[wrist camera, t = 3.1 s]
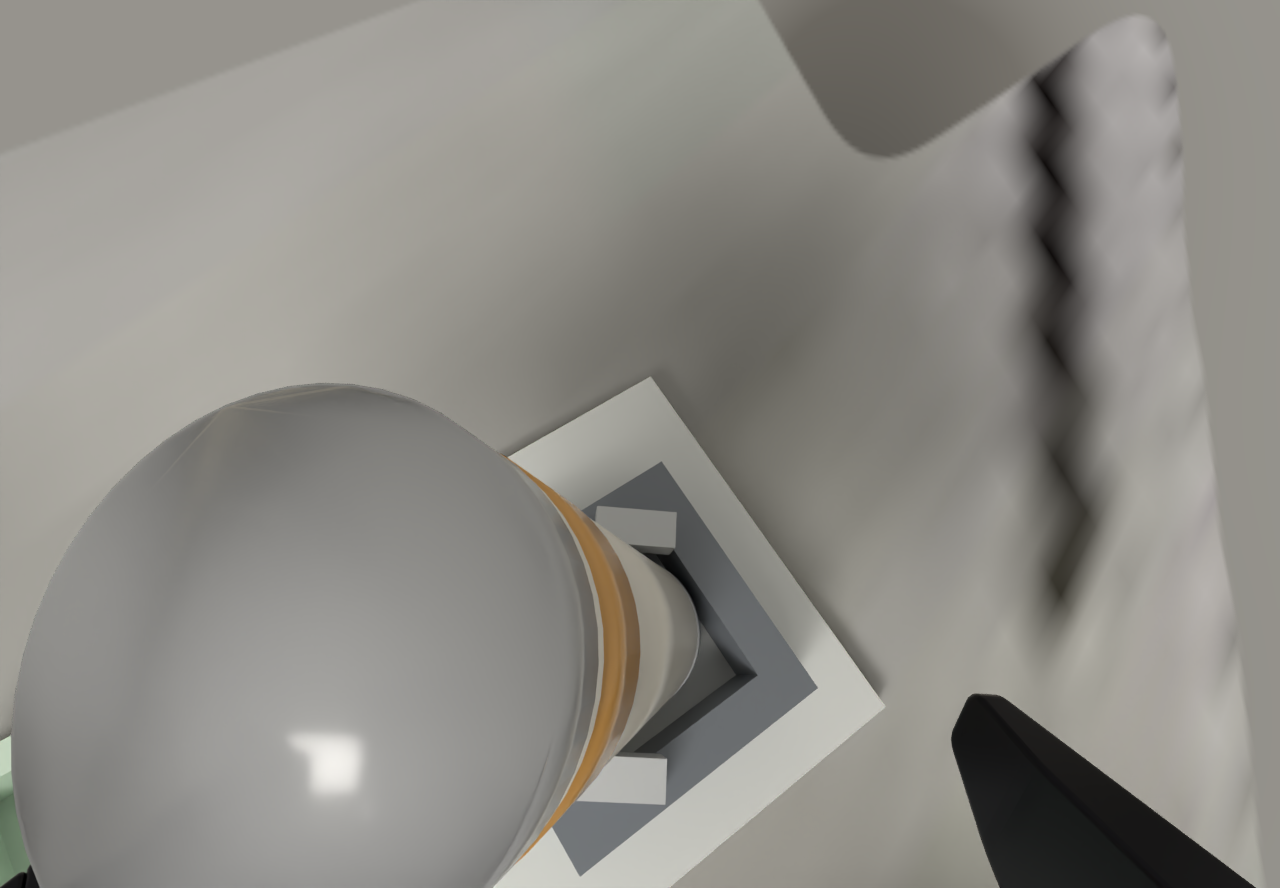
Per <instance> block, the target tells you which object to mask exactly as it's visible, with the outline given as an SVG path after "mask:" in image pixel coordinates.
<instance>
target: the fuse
mask: <svg viewBox="0 0 1280 888" xmlns="http://www.w3.org/2000/svg"><path fill="white" fill-rule="evenodd" d="M700 643H701V628H700V620H699V615H698V612H697V609H696V606H695V604H694V601H693V599H692V597H691V595H690V594H689V592H688V591H687V589H686V588H685V586H684V585H683V584H682V583H681V582H680V581H679V580H678V579H677V578H676V577H675V576H674V575H673V574H672V573H670V572H669V571H667V570H666V569H665V568H663V567H662V566H660V565H658V564H656V563H654V562H653V561H652V560H650V559H649V558H647V557H646V556H644V555H643V554H641V553H640V552H638V551H637V550H636V549H634V548H633V547H631V546H630V545H628V544H627V543H625V542H624V541H622V540H621V539H619V538H618V537H617V536H615V535H614V534H612V533H611V532H609V531H608V530H606V529H605V528H603V527H602V526H601V525H599V524H598V523H596V522H595V521H593V520H592V519H590V518H589V517H588V516H587V515H585V514H584V513H583V512H582V511H581V510H580V509H579V508H578V507H577V506H576V505H574V504H573V503H571V502H570V501H568V500H567V499H566V498H564V497H563V496H561V495H560V494H559V493H557V492H556V491H554V490H553V489H551V488H550V487H549V486H547V485H546V484H544V483H543V482H541V481H540V480H539V479H537V478H536V477H534V476H533V475H532V474H530V473H529V472H527V471H526V470H524V469H523V468H521V467H520V466H519V465H517V464H516V463H514V462H513V461H511V460H510V459H509V458H507V457H506V456H504V455H502V454H500V453H498V452H497V451H495V450H494V449H492V448H491V447H489V446H488V445H487V444H485V443H484V442H482V441H481V440H479V439H478V438H477V437H475V436H474V435H472V434H471V433H469V432H468V431H466V430H465V429H464V428H462V427H461V426H459V425H458V424H456V423H455V422H454V421H452V420H451V419H449V418H448V417H446V416H445V415H444V414H442V413H440V412H438V411H436V410H434V409H432V408H430V407H428V406H426V405H424V404H422V403H420V402H418V401H416V400H414V399H411V398H408V397H405V396H402V395H399V394H396V393H393V392H390V391H386V390H383V389H378V388H372V387H366V386H360V385H355V384H334V383H316V384H307V385H297V386H288V387H284V388H279V389H275V390H271V391H267V392H262V393H258V394H255V395H252V396H249V397H247V398H244V399H241V400H238V401H236V402H233V403H230V404H228V405H225V406H223V407H221V408H219V409H217V410H215V411H213V412H211V413H209V414H207V415H205V416H203V417H201V418H199V419H197V420H195V421H194V422H192V423H191V424H189V425H188V426H186V427H184V428H183V429H181V430H180V431H178V432H177V433H175V434H174V435H172V436H171V437H169V438H168V439H166V440H165V441H164V442H162V443H161V444H160V445H159V446H157V447H156V448H155V449H154V450H153V451H151V452H150V453H149V454H148V455H146V456H145V457H144V458H143V459H141V460H140V461H139V462H138V463H137V464H136V465H135V466H134V467H133V468H132V469H131V470H130V471H129V472H128V473H127V474H126V475H125V476H124V477H123V478H122V479H121V480H120V481H119V482H118V483H117V484H116V485H115V486H114V487H113V488H112V489H111V490H110V492H109V493H108V494H107V495H106V496H105V498H104V499H103V500H102V501H101V502H100V504H99V505H98V506H97V507H96V509H95V510H94V511H93V512H92V513H91V515H90V516H89V517H88V519H87V520H86V522H85V523H84V525H83V526H82V528H81V529H80V531H79V532H78V534H77V535H76V537H75V538H74V540H73V541H72V543H71V544H70V546H69V547H68V549H67V551H66V552H65V554H64V556H63V558H62V560H61V562H60V564H59V565H58V567H57V569H56V571H55V573H54V575H53V577H52V578H51V580H50V582H49V585H48V587H47V589H46V592H45V594H44V596H43V599H42V601H41V604H40V606H39V608H38V611H37V613H36V615H35V618H34V621H33V624H32V628H31V631H30V634H29V637H28V640H27V644H26V647H25V650H24V653H23V657H22V662H21V667H20V672H19V677H18V681H17V686H16V691H15V698H14V708H13V718H12V728H11V775H12V783H13V792H14V800H15V808H16V814H17V819H18V823H19V827H20V831H21V835H22V839H23V843H24V847H25V851H26V853H27V856H28V859H29V861H30V864H31V866H32V869H33V871H34V874H35V876H36V879H37V881H38V884H39V887H40V888H493V887H494V886H495V885H496V884H497V883H498V882H499V881H500V880H501V879H502V878H503V877H504V875H505V874H506V873H507V872H508V871H509V870H510V869H511V868H512V867H513V866H514V865H515V864H516V863H517V862H518V861H519V860H521V859H522V858H523V857H524V856H525V855H526V854H527V853H528V852H529V851H530V850H531V849H532V848H533V847H534V845H535V844H536V843H537V842H538V841H539V840H540V839H541V838H542V837H543V836H544V835H545V834H546V833H547V832H548V831H549V829H550V828H551V827H552V826H553V825H554V824H555V823H556V822H557V821H558V820H559V819H560V818H561V817H562V816H563V814H564V813H565V812H566V811H567V810H568V809H569V808H570V807H571V806H572V805H573V804H574V803H575V802H576V801H577V799H578V798H579V797H580V796H581V795H582V794H583V793H584V792H585V790H586V789H587V788H588V787H589V786H590V785H591V783H592V782H593V781H594V780H595V779H596V778H597V776H598V775H599V774H600V772H601V771H602V769H603V768H604V767H605V766H606V765H607V764H608V763H609V762H610V761H611V760H612V758H613V757H614V756H615V755H616V754H617V753H618V752H619V751H620V750H621V749H622V748H623V747H624V746H625V745H626V744H627V743H628V742H629V741H630V740H631V739H632V738H633V737H634V736H635V734H636V733H637V732H638V731H639V730H640V729H641V728H642V727H643V726H644V725H645V724H646V723H647V722H648V721H649V720H650V719H651V718H652V717H653V716H654V715H655V714H656V713H657V712H658V710H659V709H660V708H661V707H662V706H663V705H664V704H665V703H666V702H667V701H668V700H669V699H670V698H672V697H673V696H674V695H675V694H676V693H677V692H678V691H679V690H680V688H681V687H682V686H683V685H684V684H685V683H686V681H687V679H688V678H689V676H690V675H691V673H692V671H693V669H694V667H695V664H696V661H697V658H698V655H699V650H700Z"/></svg>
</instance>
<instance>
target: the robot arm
mask: <svg viewBox="0 0 1280 888" xmlns="http://www.w3.org/2000/svg"><path fill="white" fill-rule="evenodd" d="M951 742H952V748H953V752H954V755H955V758H956V762H957V765H958V768H959V771H960V774H961V777H962V781H963V784H964V787H965V790H966V793H967V796H968V799H969V803H970V806H971V809H972V812H973V815H974V818H975V821H976V825H977V828H978V831H979V834H980V837H981V840H982V843H983V846H984V849H985V852H986V854H987V857H988V860H989V862H990V865H991V867H992V870H993V872H994V875H995V877H996V880H997V882H998V885H999V887H1000V888H1256V887H1254V886H1253V885H1252V884H1250V883H1249V882H1248V881H1246V880H1245V879H1244V878H1242V877H1241V876H1240V875H1238V874H1237V873H1236V872H1234V871H1233V870H1232V869H1230V868H1229V867H1228V866H1226V865H1225V864H1224V863H1222V862H1221V861H1220V860H1218V859H1217V858H1216V857H1214V856H1213V855H1212V854H1210V853H1209V852H1208V851H1207V850H1205V849H1204V848H1203V847H1201V846H1200V845H1199V844H1197V843H1196V842H1195V841H1193V840H1192V839H1191V838H1189V837H1188V836H1187V835H1185V834H1184V833H1183V832H1181V831H1180V830H1179V829H1177V828H1176V827H1175V826H1173V825H1172V824H1171V823H1169V822H1168V821H1167V820H1165V819H1164V818H1163V817H1161V816H1160V815H1159V814H1157V813H1156V812H1155V811H1154V810H1152V809H1151V808H1150V807H1148V806H1147V805H1146V804H1144V803H1143V802H1142V801H1140V800H1139V799H1138V798H1136V797H1135V796H1134V795H1132V794H1131V793H1130V792H1128V791H1127V790H1126V789H1124V788H1123V787H1122V786H1120V785H1119V784H1118V783H1116V782H1115V781H1114V780H1112V779H1111V778H1110V777H1108V776H1107V775H1106V774H1104V773H1103V772H1102V771H1101V770H1099V769H1098V768H1097V767H1095V766H1094V765H1093V764H1091V763H1090V762H1089V761H1087V760H1086V759H1085V758H1083V757H1082V756H1081V755H1079V754H1078V753H1077V752H1075V751H1074V750H1073V749H1071V748H1070V747H1069V746H1067V745H1066V744H1065V743H1063V742H1062V741H1061V740H1059V739H1058V738H1057V737H1055V736H1054V735H1053V734H1051V733H1050V732H1049V731H1047V730H1046V729H1045V728H1044V727H1042V726H1041V725H1040V724H1038V723H1037V722H1036V721H1034V720H1033V719H1032V718H1030V717H1029V716H1028V715H1026V714H1025V713H1024V712H1022V711H1021V710H1020V709H1018V708H1017V707H1016V706H1014V705H1013V704H1012V703H1010V702H1009V701H1008V700H1006V699H1005V698H1003V697H1001V696H999V695H991V694H972V695H971V696H970V697H968V699H967V700H966V703H965V705H964V707H963V709H962V711H961V713H960V716H959V718H958V720H957V722H956V724H955V726H954V728H953V731H952V737H951ZM0 888H40V887H39V884H38V881H37V879H36V876H35V874H34V871H33V869H32V866H31V864H30V865H29V867H28V869H27V873H26V872H20V873H18V874H17V875H15V876H14V877H13V878H11V879H10V880H9V881H7V882H6V883H5V884H3V885H2V886H1V887H0Z"/></svg>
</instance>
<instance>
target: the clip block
mask: <svg viewBox="0 0 1280 888" xmlns="http://www.w3.org/2000/svg"><path fill="white" fill-rule="evenodd" d="M581 511H582V512H583V513H584V514H585V515H587V516H588V517H589V518H590V519H592V520H593V521H595V522H596V523H598V524H599V525H601V526H602V527H603V528H605V529H606V530H608V531H609V532H611V533H612V534H614V535H615V536H617V537H618V538H619V539H621V540H622V541H624V542H625V543H627V544H628V545H630V546H631V547H633V548H634V549H636V550H637V551H638V552H640V553H651V554H656V555H657V557H658V558H659V560H660V561H661V563H662V564H663V566H664V567H665V569H666V570H667V571H669V572H670V573H672V574H673V575H674V576H675V577H676V578H677V579H678V580H679V581H680V582H681V583H682V584H683V585H684V586H685V588H686V589H687V591H688V592H689V594H690V595H691V597H692V599H693V601H694V604H695V606H696V609H697V612H698V615H699V620H700V621H701V623H702V624H703V626H704V627H705V629H706V630H707V632H708V634H709V635H710V637H711V638H712V640H713V641H714V643H715V644H716V646H717V647H718V649H719V650H720V652H721V653H722V655H723V656H724V658H725V659H726V661H727V662H728V664H729V665H730V667H731V668H732V670H733V671H734V673H735V674H736V675H735V676H734V677H733V678H731V679H730V680H729V681H727V682H726V683H725V684H723V685H722V686H721V687H719V688H718V689H717V690H715V691H714V692H713V693H711V694H710V695H709V696H707V697H706V698H705V699H703V700H702V701H701V702H699V703H698V704H697V705H695V706H694V707H693V708H691V709H690V710H689V711H687V712H686V713H685V714H683V715H682V716H681V717H679V718H678V719H677V720H675V721H674V722H673V723H671V724H670V725H669V726H667V727H666V728H665V729H663V730H662V731H661V732H659V733H658V734H657V735H655V736H654V737H653V738H651V739H650V740H649V741H647V742H646V743H645V744H643V745H642V746H641V747H639V748H638V749H637V750H635V751H634V752H618V753H617V754H616V755H615V756H614V757H613V758H612V760H611V761H610V762H609V763H608V764H607V765H606V766H605V767H604V768H603V769H602V771H601V772H600V774H599V775H598V776H597V778H596V779H595V780H594V781H593V782H592V783H591V785H590V786H589V787H588V788H587V789H586V790H585V792H584V793H583V794H582V795H581V796H580V797H579V798H578V799H577V801H576V802H575V803H574V804H573V805H572V806H571V807H570V808H569V809H568V810H567V811H566V812H565V813H564V814H563V816H562V817H561V818H560V819H559V820H558V821H557V822H556V823H555V824H554V825H553V826H552V828H553V830H554V832H555V833H556V835H557V837H558V839H559V841H560V842H561V844H562V846H563V848H564V849H565V851H566V853H567V855H568V857H569V858H570V860H571V862H572V864H573V866H574V867H575V869H576V871H577V873H578V875H579V876H580V877H581V876H582V875H583V874H584V873H586V872H587V871H588V870H589V869H591V868H592V867H593V866H594V865H596V864H597V863H598V862H599V861H601V860H602V859H603V858H604V857H606V856H607V855H608V854H610V853H611V852H612V851H613V850H615V849H616V848H617V847H618V846H620V845H621V844H622V843H623V842H625V841H626V840H627V839H628V838H630V837H631V836H632V835H633V834H635V833H636V832H637V831H639V830H640V829H641V828H642V827H644V826H645V825H646V824H647V823H649V822H650V821H651V820H652V819H654V818H655V817H656V816H657V815H659V814H660V813H661V812H662V811H664V810H665V809H666V808H668V807H669V806H670V805H671V804H673V803H674V802H675V801H676V800H678V799H679V798H680V797H681V796H683V795H684V794H685V793H686V792H688V791H689V790H690V789H691V788H693V787H694V786H695V785H697V784H698V783H699V782H700V781H702V780H703V779H704V778H705V777H707V776H708V775H709V774H710V773H712V772H713V771H714V770H715V769H717V768H718V767H719V766H720V765H722V764H723V763H724V762H726V761H727V760H728V759H729V758H731V757H732V756H733V755H734V754H736V753H737V752H738V751H739V750H741V749H742V748H743V747H744V746H746V745H747V744H748V743H749V742H751V741H752V740H753V739H755V738H756V737H757V736H758V735H760V734H761V733H762V732H763V731H765V730H766V729H767V728H768V727H770V726H771V725H772V724H773V723H775V722H776V721H777V720H779V719H780V718H781V717H782V716H784V715H785V714H786V713H787V712H789V711H790V710H791V709H792V708H794V707H795V706H796V705H797V704H799V703H800V702H801V701H802V700H804V699H805V698H806V697H808V696H809V695H810V694H811V693H813V692H814V691H815V690H816V689H818V687H817V686H816V684H815V683H814V681H813V680H812V678H811V677H810V675H809V674H808V673H807V671H806V670H805V668H804V667H803V665H802V664H801V662H800V661H799V660H798V658H797V657H796V655H795V654H794V652H793V651H792V649H791V648H790V646H789V645H788V644H787V642H786V641H785V639H784V638H783V636H782V635H781V633H780V632H779V631H778V629H777V628H776V626H775V625H774V623H773V622H772V620H771V619H770V618H769V616H768V615H767V613H766V612H765V610H764V609H763V607H762V606H761V605H760V603H759V602H758V600H757V599H756V597H755V596H754V594H753V593H752V591H751V590H750V589H749V587H748V586H747V584H746V583H745V581H744V580H743V578H742V577H741V576H740V574H739V573H738V571H737V570H736V568H735V567H734V565H733V564H732V563H731V561H730V560H729V558H728V557H727V555H726V554H725V552H724V551H723V549H722V548H721V547H720V545H719V544H718V542H717V541H716V539H715V538H714V536H713V535H712V534H711V532H710V531H709V529H708V528H707V526H706V525H705V523H704V522H703V521H702V519H701V518H700V516H699V515H698V513H697V512H696V510H695V509H694V507H693V506H692V505H691V503H690V502H689V500H688V499H687V497H686V496H685V494H684V493H683V492H682V490H681V489H680V487H679V486H678V484H677V483H676V481H675V480H674V479H673V477H672V476H671V474H670V473H669V471H668V470H667V468H666V467H665V465H664V464H663V463H662V461H661V462H660V463H658V464H656V465H655V466H653V467H652V468H650V469H648V470H647V471H645V472H643V473H642V474H640V475H638V476H637V477H635V478H634V479H632V480H630V481H629V482H627V483H625V484H624V485H622V486H620V487H619V488H617V489H616V490H614V491H612V492H611V493H609V494H607V495H606V496H604V497H603V498H601V499H599V500H598V501H596V502H594V503H593V504H591V505H589V506H588V507H586V508H585V509H583V510H581Z"/></svg>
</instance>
